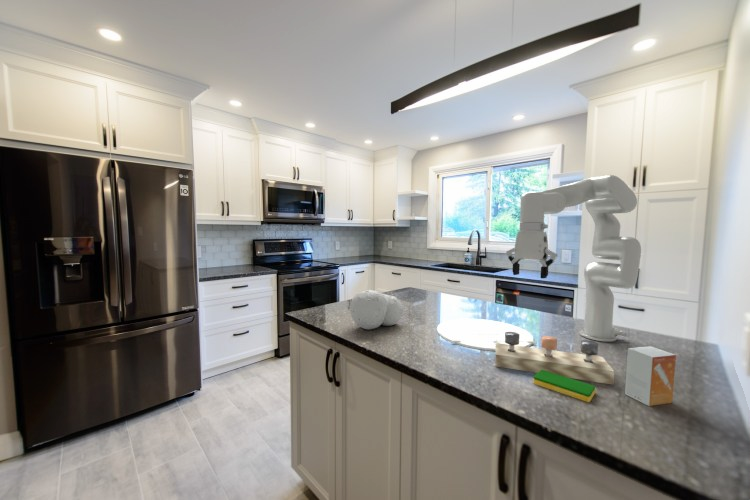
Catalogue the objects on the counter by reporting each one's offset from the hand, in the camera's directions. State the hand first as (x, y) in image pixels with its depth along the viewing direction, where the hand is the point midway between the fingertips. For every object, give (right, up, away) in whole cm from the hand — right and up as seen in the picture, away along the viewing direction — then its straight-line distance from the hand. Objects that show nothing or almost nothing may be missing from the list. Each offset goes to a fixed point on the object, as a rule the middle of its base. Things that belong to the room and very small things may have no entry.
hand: (529, 276), depth 109 cm
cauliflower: (-54, -26, +34) cm, 69 cm away
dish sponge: (-1, -31, -21) cm, 37 cm away
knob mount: (+2, -29, -9) cm, 30 cm away
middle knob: (+2, -26, -9) cm, 28 cm away
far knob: (-8, -26, -5) cm, 28 cm away
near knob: (+12, -26, -13) cm, 32 cm away
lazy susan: (-8, -28, +24) cm, 37 cm away
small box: (+18, -31, -27) cm, 45 cm away
